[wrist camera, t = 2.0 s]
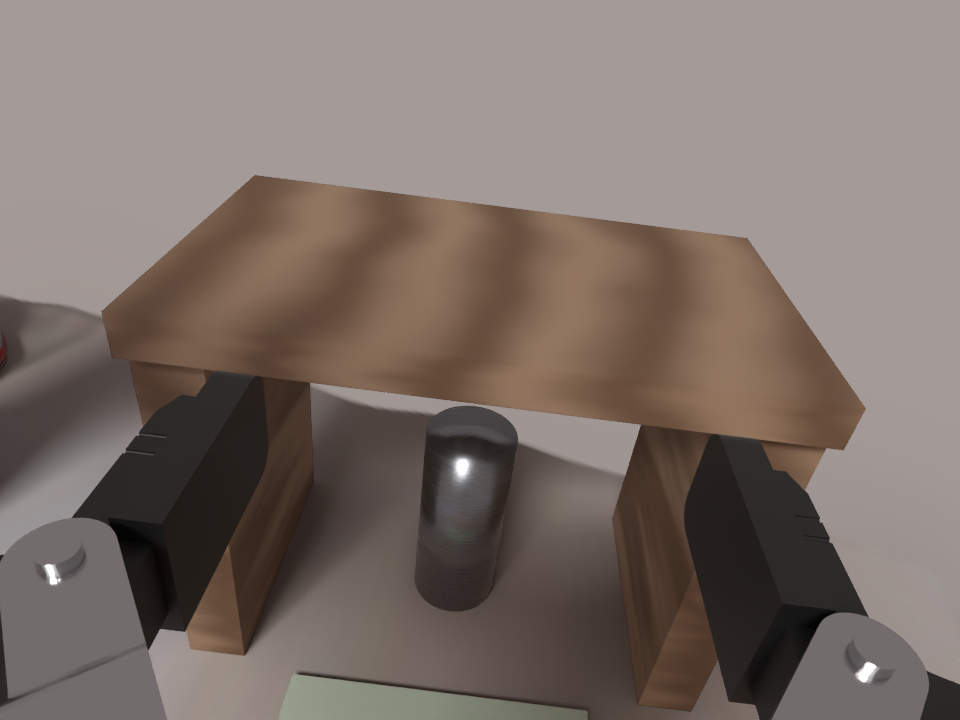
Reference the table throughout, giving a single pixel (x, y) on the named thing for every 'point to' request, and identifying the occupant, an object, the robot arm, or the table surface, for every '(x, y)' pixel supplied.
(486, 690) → the table surface
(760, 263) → the shelf
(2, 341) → the hourglass
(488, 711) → the mat
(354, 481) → the table surface
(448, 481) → the canister
